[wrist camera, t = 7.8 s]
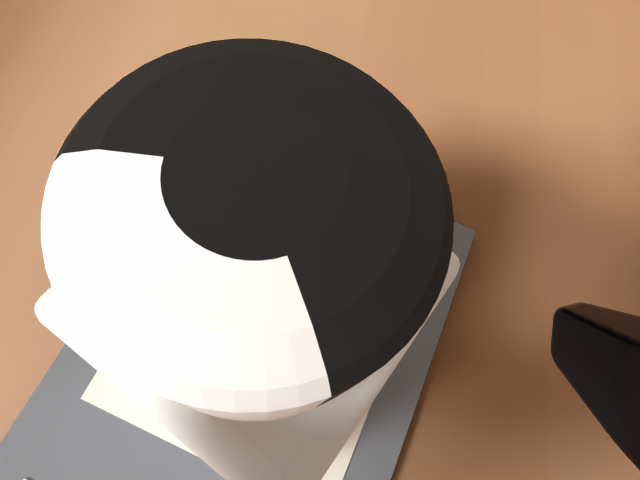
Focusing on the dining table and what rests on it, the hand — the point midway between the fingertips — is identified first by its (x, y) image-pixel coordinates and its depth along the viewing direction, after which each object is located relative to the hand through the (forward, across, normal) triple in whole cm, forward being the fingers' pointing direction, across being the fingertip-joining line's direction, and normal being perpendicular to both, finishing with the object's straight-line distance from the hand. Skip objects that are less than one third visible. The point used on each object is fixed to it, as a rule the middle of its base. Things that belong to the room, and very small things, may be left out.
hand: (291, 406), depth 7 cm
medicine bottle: (+10, 0, +5) cm, 11 cm away
